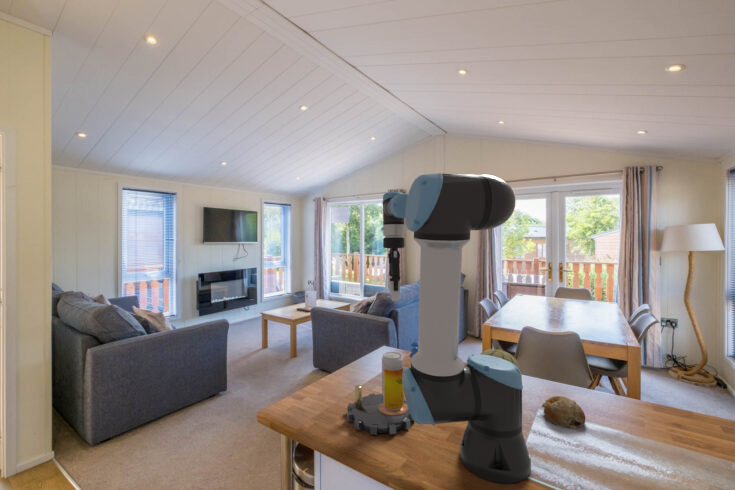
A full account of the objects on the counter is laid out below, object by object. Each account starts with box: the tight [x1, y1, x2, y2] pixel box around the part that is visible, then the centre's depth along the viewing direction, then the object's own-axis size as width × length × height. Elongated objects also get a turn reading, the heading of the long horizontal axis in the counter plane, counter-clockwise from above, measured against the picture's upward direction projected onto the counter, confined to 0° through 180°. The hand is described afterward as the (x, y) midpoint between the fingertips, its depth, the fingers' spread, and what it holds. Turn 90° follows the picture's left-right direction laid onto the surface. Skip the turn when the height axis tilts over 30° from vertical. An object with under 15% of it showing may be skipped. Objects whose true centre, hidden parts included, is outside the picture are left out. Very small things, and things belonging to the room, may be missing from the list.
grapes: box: [408, 340, 418, 359], centre depth 131 cm, size 12×7×12 cm, turn 171°
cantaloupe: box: [480, 345, 523, 377], centre depth 111 cm, size 15×15×15 cm
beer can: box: [381, 351, 404, 411], centre depth 97 cm, size 6×6×15 cm
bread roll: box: [541, 396, 586, 430], centre depth 95 cm, size 10×10×8 cm
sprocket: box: [346, 384, 415, 436], centre depth 97 cm, size 20×20×8 cm
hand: (394, 297), depth 119 cm, fingers open, 13 cm apart
